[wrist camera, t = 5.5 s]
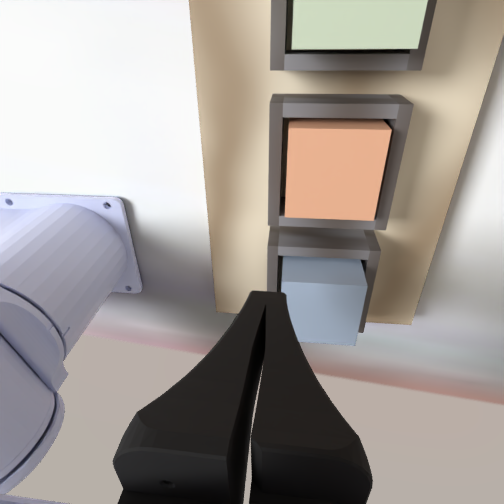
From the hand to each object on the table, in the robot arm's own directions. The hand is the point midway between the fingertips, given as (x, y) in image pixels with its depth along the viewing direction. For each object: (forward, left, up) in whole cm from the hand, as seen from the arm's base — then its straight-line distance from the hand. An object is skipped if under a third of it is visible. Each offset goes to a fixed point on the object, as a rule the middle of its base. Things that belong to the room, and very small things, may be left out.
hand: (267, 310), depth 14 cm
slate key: (+3, -4, -7) cm, 9 cm away
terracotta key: (+3, +3, -9) cm, 10 cm away
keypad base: (+3, +3, -10) cm, 11 cm away
